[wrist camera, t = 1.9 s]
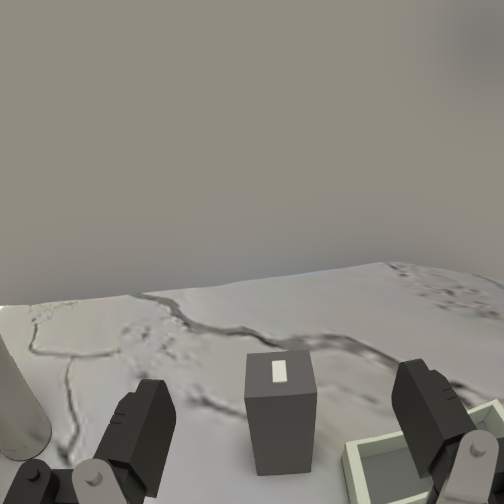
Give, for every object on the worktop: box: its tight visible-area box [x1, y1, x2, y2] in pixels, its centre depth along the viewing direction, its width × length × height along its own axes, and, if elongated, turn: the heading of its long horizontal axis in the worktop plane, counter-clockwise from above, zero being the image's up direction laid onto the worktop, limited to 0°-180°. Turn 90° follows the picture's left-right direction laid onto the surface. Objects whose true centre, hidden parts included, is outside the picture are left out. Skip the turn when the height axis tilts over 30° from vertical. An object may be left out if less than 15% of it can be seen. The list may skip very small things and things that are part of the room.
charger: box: [244, 349, 317, 476], centre depth 24 cm, size 5×5×12 cm
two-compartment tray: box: [341, 399, 504, 504], centre depth 24 cm, size 17×18×3 cm
